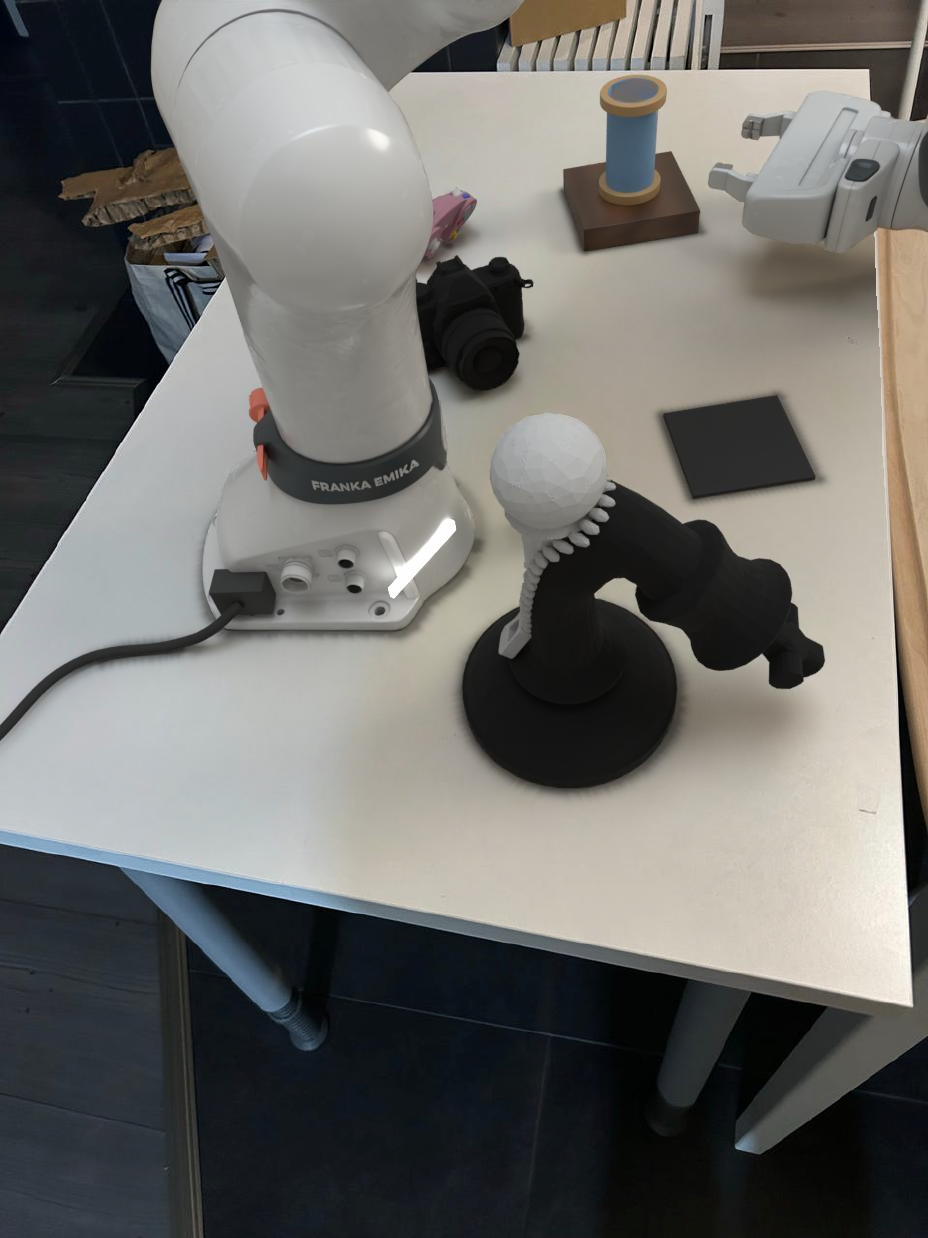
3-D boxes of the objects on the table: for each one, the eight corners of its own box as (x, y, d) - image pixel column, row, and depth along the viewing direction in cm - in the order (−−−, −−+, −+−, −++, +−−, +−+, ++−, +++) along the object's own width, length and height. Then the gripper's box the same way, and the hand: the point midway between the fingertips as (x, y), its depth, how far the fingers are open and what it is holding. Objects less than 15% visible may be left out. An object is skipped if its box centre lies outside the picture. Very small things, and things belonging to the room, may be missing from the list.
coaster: (692, 499, 75) (693, 495, 74) (663, 416, 81) (663, 412, 80) (815, 479, 75) (815, 476, 74) (776, 398, 80) (777, 394, 80)
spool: (605, 209, 95) (607, 111, 87) (593, 177, 99) (594, 80, 91) (666, 199, 95) (674, 100, 87) (652, 167, 99) (658, 69, 91)
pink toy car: (416, 286, 98) (431, 241, 92) (384, 258, 98) (396, 211, 92) (471, 238, 102) (489, 192, 96) (440, 211, 102) (456, 163, 96)
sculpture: (478, 599, 71) (436, 331, 51) (796, 614, 67) (888, 332, 47) (449, 778, 63) (384, 543, 42) (812, 809, 59) (932, 565, 38)
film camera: (411, 422, 84) (394, 341, 76) (377, 362, 89) (358, 281, 82) (562, 368, 86) (560, 284, 78) (519, 312, 91) (514, 228, 84)
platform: (583, 251, 96) (583, 229, 94) (563, 190, 103) (563, 168, 101) (698, 232, 96) (700, 209, 94) (669, 172, 103) (671, 150, 101)
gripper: (913, 82, 86) (767, 64, 91) (853, 198, 77) (694, 171, 82) (894, 148, 92) (757, 128, 96) (836, 265, 82) (687, 236, 87)
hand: (727, 149), depth 89 cm, fingers open, 8 cm apart
